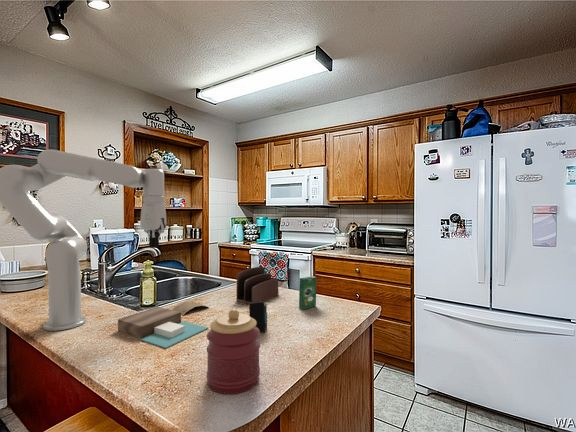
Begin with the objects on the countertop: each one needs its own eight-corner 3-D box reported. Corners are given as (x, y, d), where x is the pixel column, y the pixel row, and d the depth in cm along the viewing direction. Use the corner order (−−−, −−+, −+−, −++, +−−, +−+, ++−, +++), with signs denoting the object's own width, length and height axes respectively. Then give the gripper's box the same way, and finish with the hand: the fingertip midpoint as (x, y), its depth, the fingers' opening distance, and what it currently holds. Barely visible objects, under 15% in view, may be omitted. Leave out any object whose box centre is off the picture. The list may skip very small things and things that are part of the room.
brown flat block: (118, 330, 106) (117, 319, 106) (157, 316, 120) (157, 306, 120) (142, 338, 100) (142, 326, 99) (181, 322, 114) (181, 312, 113)
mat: (140, 340, 98) (140, 339, 98) (184, 322, 114) (184, 321, 114) (165, 348, 93) (165, 347, 93) (208, 328, 108) (208, 327, 108)
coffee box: (312, 304, 136) (312, 275, 136) (316, 306, 134) (316, 276, 134) (298, 308, 131) (298, 277, 131) (303, 310, 129) (303, 279, 129)
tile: (154, 333, 103) (154, 327, 103) (168, 327, 108) (168, 321, 108) (171, 338, 99) (171, 331, 99) (185, 331, 105) (185, 325, 105)
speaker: (266, 334, 103) (265, 302, 104) (249, 334, 103) (248, 303, 104) (268, 327, 111) (267, 298, 112) (252, 328, 111) (251, 299, 112)
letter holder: (236, 301, 141) (236, 271, 141) (263, 292, 157) (263, 264, 157) (252, 305, 135) (252, 273, 135) (278, 295, 152) (279, 266, 151)
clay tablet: (181, 317, 121) (181, 311, 121) (168, 312, 127) (168, 305, 127) (211, 308, 132) (211, 302, 132) (197, 303, 138) (198, 297, 138)
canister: (195, 388, 72) (195, 314, 72) (225, 362, 85) (225, 299, 84) (243, 400, 68) (244, 322, 67) (268, 371, 80) (268, 304, 80)
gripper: (133, 200, 120) (133, 247, 121) (158, 200, 113) (158, 250, 113) (149, 201, 127) (150, 245, 127) (174, 200, 119) (175, 247, 120)
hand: (154, 247), depth 120 cm, fingers closed
